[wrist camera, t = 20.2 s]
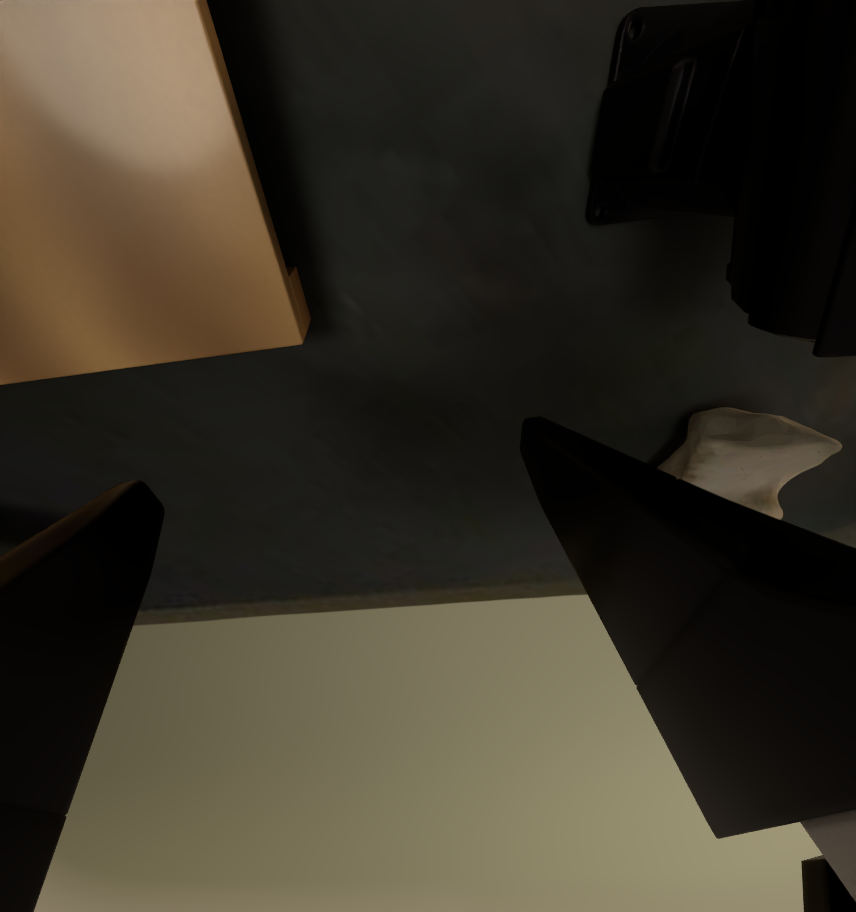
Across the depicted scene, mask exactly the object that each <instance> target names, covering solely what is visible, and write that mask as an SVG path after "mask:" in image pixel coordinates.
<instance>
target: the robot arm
mask: <svg viewBox="0 0 856 912" xmlns="http://www.w3.org/2000/svg"><path fill="white" fill-rule="evenodd" d="M632 22H633V23H634V24H635V26H636V33H635V36H634V38H633V39H631V38H630V36H629V28H630V26H631V23H632ZM591 171H592V173H593V175H592V181H591V187H590V193H589V199H588V205H587V211H586V218H587V221H588V222H589V223H591V224H597V225H600V224H608V223H617V222H626V221H634V220H643V219H652V218H660V217H669V216H677V215H686V214H695V213H700V214H710V215H720V216H730V217H735V219H734V230H733V241H732V252H731V262H730V263H729V264H728V265H727V271H726V280H727V281H728V282H729V283H730V284H731V299H732V300H733V301H734V302H735V303H736V304H737V305H738V306H739V307H740V308H741V309H742V310H743V311H744V312H746V313H747V314H749V317H748V324H750V325H751V326H753V327H756V328H758V329H761V330H764V331H766V332H769V333H772V334H775V335H778V336H783V337H789V338H794V339H800V340H805V341H811V342H815V344H814V348H813V352H812V353H813V355H814V356H817V357H840V356H856V0H742V1H733V2H717V3H702V4H687V5H671V6H656V7H641V8H637V9H635V10H633V11H631V12H630V13H628V14H627V15H626V16H625V17H624V18H623V19H622V21H621V23H620V24H619V27H618V30H617V34H616V40H615V46H614V52H613V57H612V63H611V69H610V75H609V81H608V87H607V88H606V89H605V91H604V93H603V97H602V103H601V109H600V115H599V121H598V128H597V134H596V140H595V146H594V152H593V158H592V164H591ZM599 206H601V213H600V215H599V216H598V217H596V210H597V208H598V207H599ZM520 451H521V455H522V458H523V460H524V463H525V466H526V468H527V471H528V473H529V476H530V479H531V481H532V484H533V487H534V489H535V492H536V495H537V497H538V500H539V502H540V504H541V506H542V508H543V510H544V512H545V514H546V516H547V518H548V520H549V522H550V524H551V526H552V528H553V530H554V531H555V533H556V535H557V537H558V539H559V541H560V543H561V545H562V547H563V549H564V550H565V552H566V554H567V556H568V558H569V560H570V562H571V564H572V566H573V568H574V569H575V571H576V573H577V575H578V577H579V579H580V581H581V583H582V585H583V587H584V588H585V590H586V592H587V594H588V596H589V598H590V600H591V602H592V604H593V605H594V607H595V609H596V611H597V613H598V615H599V617H600V619H601V621H602V623H603V625H604V626H605V628H606V630H607V632H608V634H609V636H610V638H611V640H612V642H613V644H614V645H615V647H616V649H617V651H618V653H619V655H620V657H621V659H622V661H623V662H624V664H625V666H626V668H627V670H628V672H629V674H630V676H631V678H632V680H633V682H634V683H635V685H637V690H638V691H639V694H640V695H641V697H642V699H643V701H644V703H645V705H646V707H647V709H648V711H649V713H650V714H651V716H652V718H653V720H654V722H655V724H656V726H657V727H658V730H659V732H660V733H661V735H662V737H663V739H664V741H665V743H666V745H667V747H668V749H669V750H670V752H671V754H672V756H673V758H674V760H675V762H676V764H677V766H678V767H679V770H680V771H681V773H682V775H683V777H684V779H685V781H686V783H687V785H688V787H689V788H690V790H691V792H692V794H693V796H694V798H695V800H696V802H697V804H698V805H699V807H700V809H701V811H702V813H703V815H704V817H705V819H706V821H707V823H708V824H709V826H710V828H711V830H712V831H713V833H714V835H715V836H716V838H718V839H720V838H724V837H729V836H733V835H739V834H743V833H748V832H753V831H758V830H763V829H767V828H772V827H777V826H782V825H787V824H791V823H796V822H801V824H802V825H803V827H804V828H805V830H806V831H807V833H808V834H809V835H810V837H811V838H812V840H813V841H814V843H815V844H816V845H817V847H818V848H819V849H820V851H821V853H822V854H823V855H822V856H818V857H815V858H811V859H807V860H804V861H802V881H803V902H804V912H856V548H854V547H851V546H848V545H845V544H842V543H840V542H837V541H835V540H832V539H829V538H827V537H824V536H821V535H819V534H816V533H814V532H811V531H808V530H806V529H803V528H800V527H798V526H795V525H793V524H790V523H787V522H785V521H782V520H779V519H777V518H774V517H772V516H769V515H766V514H764V513H761V512H759V511H756V510H753V509H751V508H748V507H746V506H743V505H741V504H738V503H736V502H733V501H731V500H728V499H726V498H723V497H721V496H719V495H716V494H714V493H712V492H709V491H707V490H705V489H702V488H700V487H698V486H695V485H693V484H691V483H689V482H687V481H684V480H682V479H677V478H676V477H675V476H673V475H671V474H669V473H666V472H664V471H662V470H660V469H657V468H655V467H653V466H651V465H648V464H646V463H644V462H642V461H639V460H637V459H635V458H633V457H631V456H628V455H626V454H624V453H622V452H619V451H617V450H615V449H613V448H610V447H608V446H606V445H604V444H601V443H599V442H597V441H595V440H592V439H590V438H588V437H586V436H584V435H581V434H579V433H577V432H575V431H572V430H570V429H568V428H566V427H563V426H561V425H559V424H557V423H554V422H552V421H550V420H548V419H545V418H543V417H540V416H538V417H532V418H526V419H525V420H524V421H523V424H522V433H521V442H520ZM163 519H164V507H163V505H162V503H161V502H160V501H159V500H158V498H157V497H156V496H155V495H154V493H153V492H152V491H151V490H150V488H149V487H148V486H147V485H146V484H145V483H144V482H142V481H131V482H124V483H120V484H117V485H116V486H114V487H112V488H111V489H109V490H108V491H106V492H104V493H103V494H101V495H99V496H98V497H96V498H95V499H93V500H91V501H90V502H88V503H87V504H85V505H83V506H82V507H80V508H78V509H77V510H75V511H74V512H72V513H70V514H69V515H67V516H66V517H64V518H62V519H61V520H59V521H57V522H56V523H54V524H53V525H51V526H49V527H48V528H46V529H44V530H43V531H41V532H40V533H38V534H36V535H35V536H33V537H32V538H30V539H28V540H27V541H25V542H23V543H22V544H20V545H19V546H17V547H15V548H14V549H12V550H11V551H9V552H7V553H6V554H4V555H2V556H1V557H0V912H34V909H35V906H36V903H37V900H38V898H39V895H40V892H41V889H42V886H43V883H44V880H45V878H46V875H47V872H48V869H49V866H50V863H51V860H52V857H53V854H54V852H55V849H56V846H57V843H58V840H59V837H60V834H61V831H62V829H63V826H64V823H65V820H66V816H65V815H66V814H67V813H68V810H69V808H70V805H71V802H72V799H73V796H74V793H75V790H76V788H77V785H78V782H79V779H80V776H81V773H82V770H83V767H84V764H85V762H86V759H87V756H88V753H89V750H90V747H91V745H92V742H93V739H94V736H95V732H96V730H97V727H98V725H99V722H100V719H101V716H102V713H103V710H104V707H105V704H106V702H107V699H108V696H109V693H110V690H111V687H112V684H113V682H114V679H115V676H116V673H117V670H118V667H119V664H120V661H121V658H122V656H123V653H124V650H125V647H126V644H127V641H128V638H129V636H130V632H131V630H132V627H133V624H134V621H135V619H136V616H137V613H138V610H139V607H140V604H141V601H142V599H143V596H144V593H145V590H146V587H147V584H148V581H149V578H150V575H151V571H152V567H153V563H154V559H155V555H156V550H157V546H158V541H159V537H160V532H161V528H162V523H163Z"/></svg>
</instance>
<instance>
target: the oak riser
mask: <svg viewBox="0 0 856 912" xmlns="http://www.w3.org/2000/svg"><path fill="white" fill-rule="evenodd" d="M310 320H311V317H310V314H309V310H308V307H307V303H306V300H305V296H304V292H303V289H302V285H301V282H300V278H299V275H298V271H297V268H296V267H288V268H286V266H285V263H284V260H283V256H282V253H281V250H280V246H279V243H278V239H277V236H276V233H275V229H274V226H273V223H272V219H271V216H270V213H269V209H268V206H267V203H266V199H265V196H264V192H263V189H262V186H261V182H260V179H259V176H258V172H257V169H256V166H255V162H254V159H253V155H252V152H251V149H250V145H249V142H248V139H247V135H246V132H245V129H244V125H243V122H242V118H241V115H240V112H239V108H238V105H237V102H236V98H235V95H234V92H233V88H232V85H231V81H230V78H229V75H228V71H227V68H226V65H225V61H224V58H223V55H222V51H221V48H220V45H219V41H218V38H217V34H216V31H215V28H214V24H213V21H212V18H211V14H210V11H209V8H208V4H207V1H206V0H0V385H3V384H11V383H18V382H26V381H33V380H41V379H48V378H56V377H63V376H71V375H78V374H85V373H93V372H100V371H108V370H115V369H123V368H130V367H138V366H145V365H152V364H160V363H167V362H175V361H182V360H190V359H197V358H205V357H212V356H220V355H227V354H234V353H242V352H249V351H257V350H264V349H272V348H279V347H287V346H294V345H301V344H303V342H304V338H305V335H306V333H307V330H308V326H309V323H310Z"/></svg>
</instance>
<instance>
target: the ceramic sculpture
mask: <svg viewBox="0 0 856 912" xmlns="http://www.w3.org/2000/svg"><path fill="white" fill-rule="evenodd" d="M841 448H842V444H841V443H840V442H838V441H837V440H835V439H832V438H830V437H827V436H825V435H823V434H821V433H819V432H817V431H815V430H813V429H811V428H808V427H805V426H803V425H801V424H798V423H796V422H794V421H792V420H790V419H787V418H785V417H783V416H775V415H770V414H759V413H751V412H747V411H743V410H739V409H735V408H729V407H721V408H715V409H711V410H708V411H701V412H698V413H695V414H693V415H692V416H691V417H690V419H689V422H688V433H687V438H686V441H685V442H684V443H683V444H682V445H681V446H680V447H679V448H678V449H677V450H676V451H675V452H674V453H673V454H672V455H671V456H670V457H669V458H668V459H667V460H665V461H664V462H663V463H662V464H661V465H659V466H658V467H657V469H660V470H662V471H664V472H666V473H669V474H671V475H673V476H675V477H676V478H677V479H682V480H684V481H687V482H689V483H691V484H693V485H695V486H698V487H700V488H702V489H705V490H707V491H709V492H712V493H714V494H716V495H719V496H721V497H723V498H726V499H728V500H731V501H733V502H736V503H738V504H741V505H743V506H746V507H748V508H751V509H753V510H756V511H759V512H761V513H764V514H766V515H769V516H772V517H774V518H777V519H779V520H781V518H782V517H783V511H782V509H781V507H780V505H779V503H778V499H777V495H778V492H779V490H780V489H781V487H782V486H783V485H784V484H785V483H787V482H788V481H789V480H790V479H792V478H793V477H795V476H796V475H798V474H799V473H801V472H803V471H806V470H808V469H810V468H813V467H815V466H817V465H819V464H821V463H822V462H823V461H824V460H825V459H827V458H828V457H829V456H830V455H832V454H835V453H837V452H839V451H840V450H841Z"/></svg>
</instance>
